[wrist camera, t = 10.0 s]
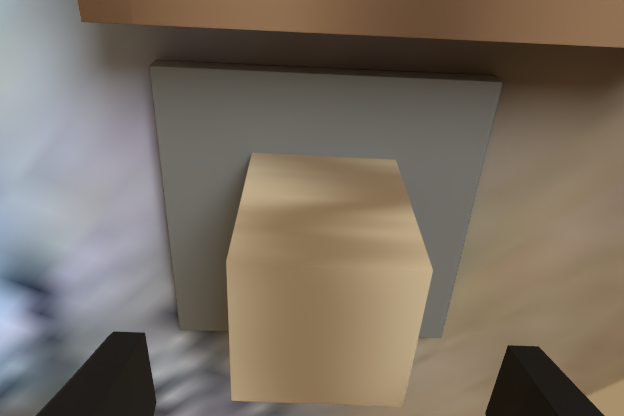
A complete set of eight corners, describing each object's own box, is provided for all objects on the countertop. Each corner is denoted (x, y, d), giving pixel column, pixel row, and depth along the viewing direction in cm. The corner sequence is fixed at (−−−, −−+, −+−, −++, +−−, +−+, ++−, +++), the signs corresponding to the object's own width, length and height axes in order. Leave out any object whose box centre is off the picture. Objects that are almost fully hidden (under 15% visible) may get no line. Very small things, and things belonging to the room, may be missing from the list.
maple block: (395, 159, 14) (433, 270, 10) (378, 273, 16) (403, 406, 12) (251, 152, 14) (225, 261, 10) (252, 268, 16) (231, 400, 12)
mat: (495, 75, 14) (502, 82, 13) (437, 326, 18) (441, 338, 18) (155, 60, 13) (149, 66, 13) (183, 317, 18) (179, 329, 17)
